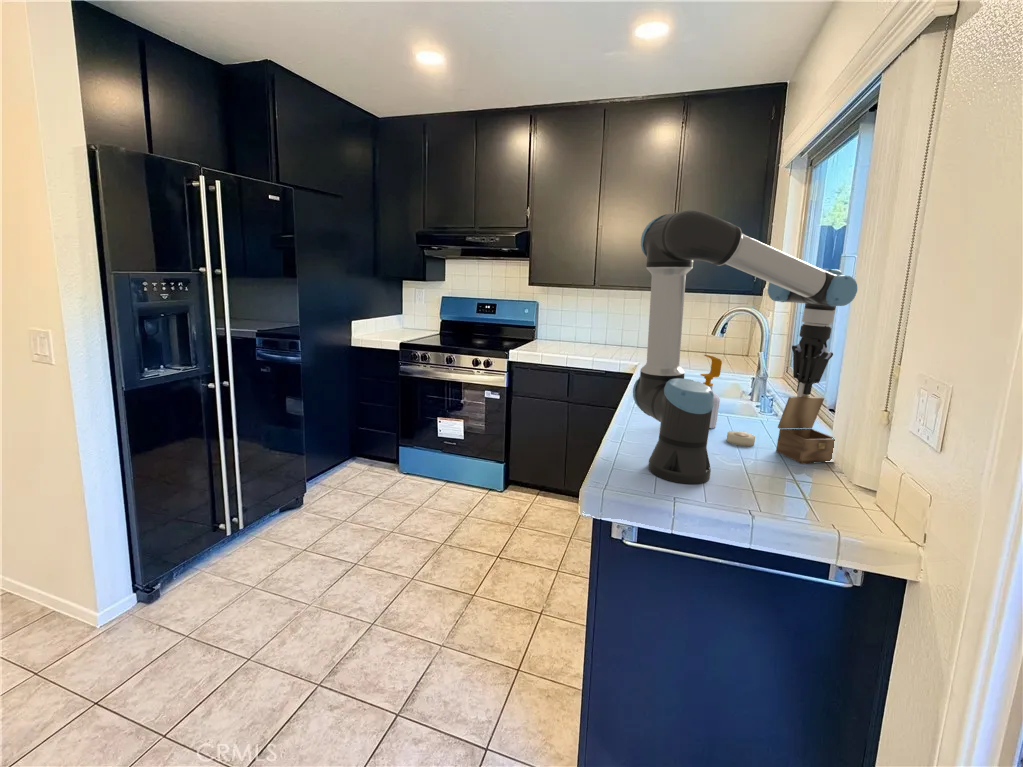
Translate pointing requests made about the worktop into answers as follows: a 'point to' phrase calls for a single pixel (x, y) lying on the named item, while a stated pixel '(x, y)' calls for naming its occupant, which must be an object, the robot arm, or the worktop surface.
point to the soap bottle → (716, 400)
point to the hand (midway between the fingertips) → (801, 404)
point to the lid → (800, 412)
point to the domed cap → (740, 438)
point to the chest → (805, 445)
